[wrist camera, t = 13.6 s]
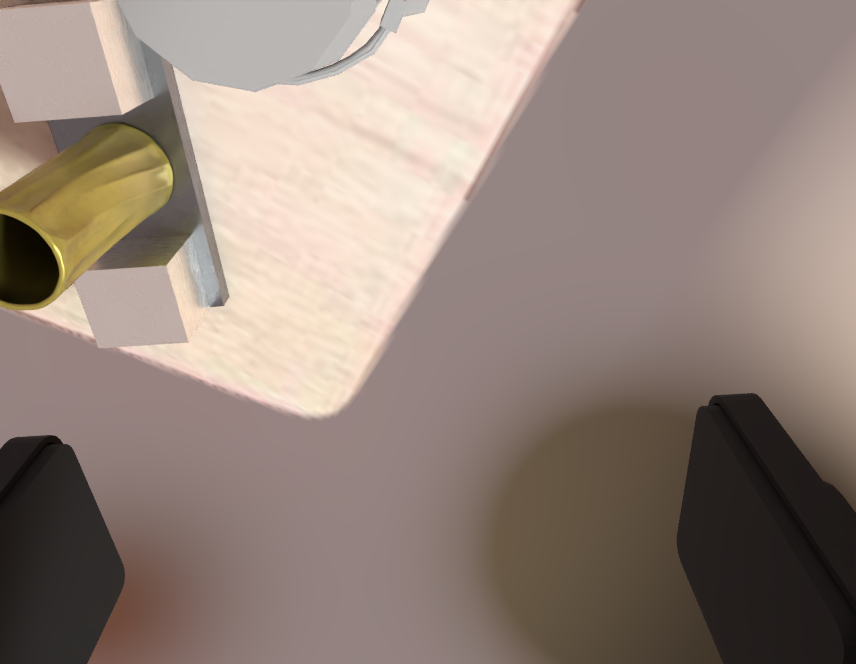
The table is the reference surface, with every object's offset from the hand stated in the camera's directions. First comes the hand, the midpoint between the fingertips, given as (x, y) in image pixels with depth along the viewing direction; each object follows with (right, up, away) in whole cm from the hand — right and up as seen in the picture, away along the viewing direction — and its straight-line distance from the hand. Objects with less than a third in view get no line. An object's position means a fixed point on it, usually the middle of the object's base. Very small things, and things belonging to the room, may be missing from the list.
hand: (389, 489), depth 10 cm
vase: (-19, +13, +33) cm, 40 cm away
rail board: (-19, +13, +34) cm, 41 cm away
